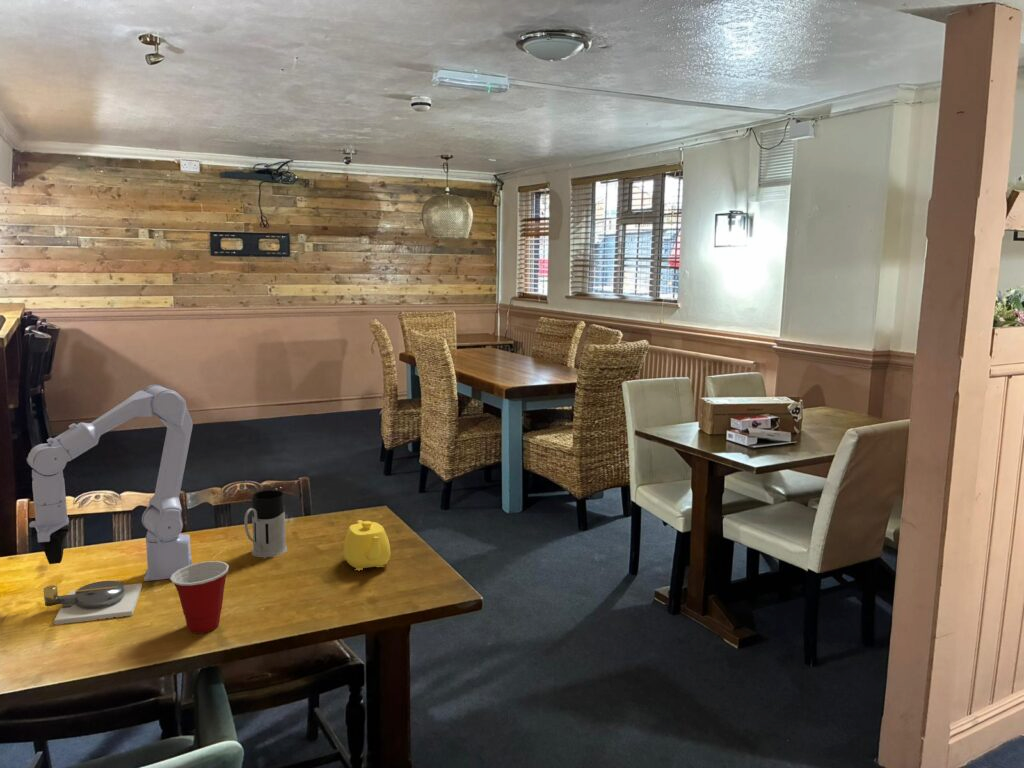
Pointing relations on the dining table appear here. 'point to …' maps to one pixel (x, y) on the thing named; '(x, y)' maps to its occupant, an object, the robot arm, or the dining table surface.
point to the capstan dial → (87, 595)
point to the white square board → (100, 608)
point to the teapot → (366, 545)
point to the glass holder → (267, 523)
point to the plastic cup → (201, 594)
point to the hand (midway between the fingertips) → (55, 562)
